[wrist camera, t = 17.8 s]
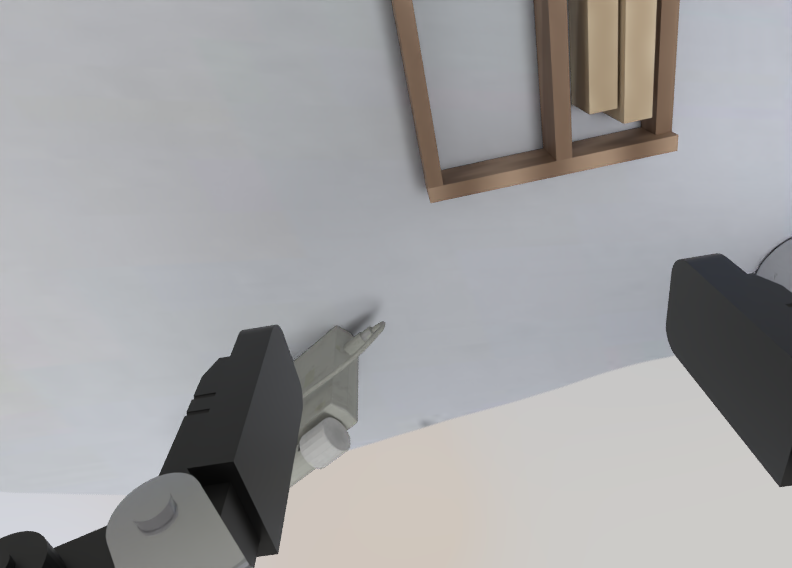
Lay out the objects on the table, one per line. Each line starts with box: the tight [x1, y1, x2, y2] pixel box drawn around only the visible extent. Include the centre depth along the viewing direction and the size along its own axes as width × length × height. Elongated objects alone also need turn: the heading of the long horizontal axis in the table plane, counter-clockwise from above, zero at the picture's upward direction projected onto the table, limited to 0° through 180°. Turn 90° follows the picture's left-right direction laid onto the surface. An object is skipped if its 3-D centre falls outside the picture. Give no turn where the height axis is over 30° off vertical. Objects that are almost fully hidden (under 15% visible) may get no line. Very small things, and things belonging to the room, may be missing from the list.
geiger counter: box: [289, 321, 385, 488], centre depth 47 cm, size 14×6×25 cm
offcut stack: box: [568, 0, 657, 124], centre depth 36 cm, size 4×13×4 cm, turn 12°
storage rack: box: [391, 0, 680, 203], centre depth 37 cm, size 19×19×4 cm
